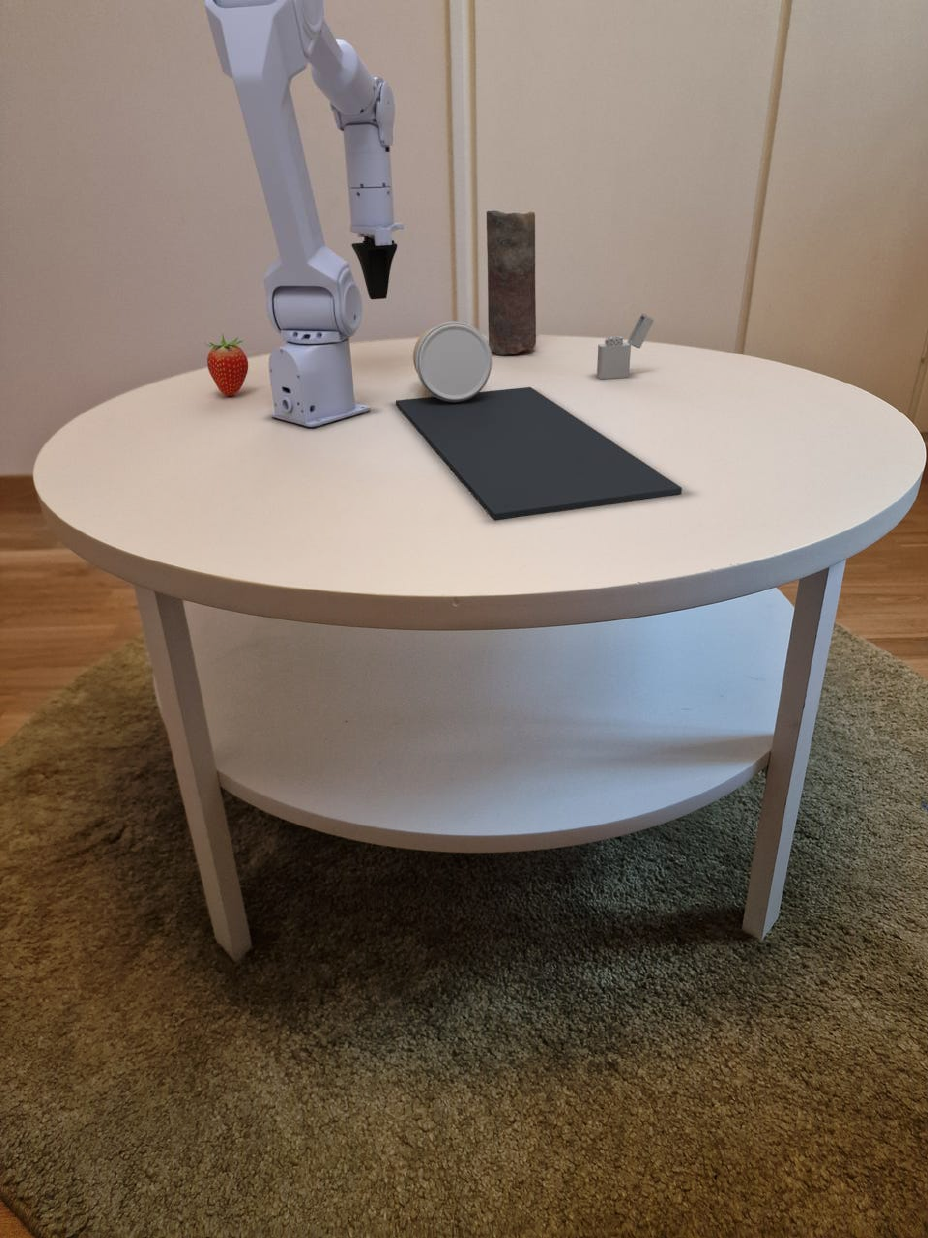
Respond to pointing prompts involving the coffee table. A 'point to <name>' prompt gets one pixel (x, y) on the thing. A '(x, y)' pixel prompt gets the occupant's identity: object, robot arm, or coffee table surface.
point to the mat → (530, 454)
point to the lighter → (621, 351)
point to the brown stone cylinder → (511, 282)
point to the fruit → (227, 366)
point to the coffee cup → (453, 361)
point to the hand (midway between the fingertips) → (378, 298)
